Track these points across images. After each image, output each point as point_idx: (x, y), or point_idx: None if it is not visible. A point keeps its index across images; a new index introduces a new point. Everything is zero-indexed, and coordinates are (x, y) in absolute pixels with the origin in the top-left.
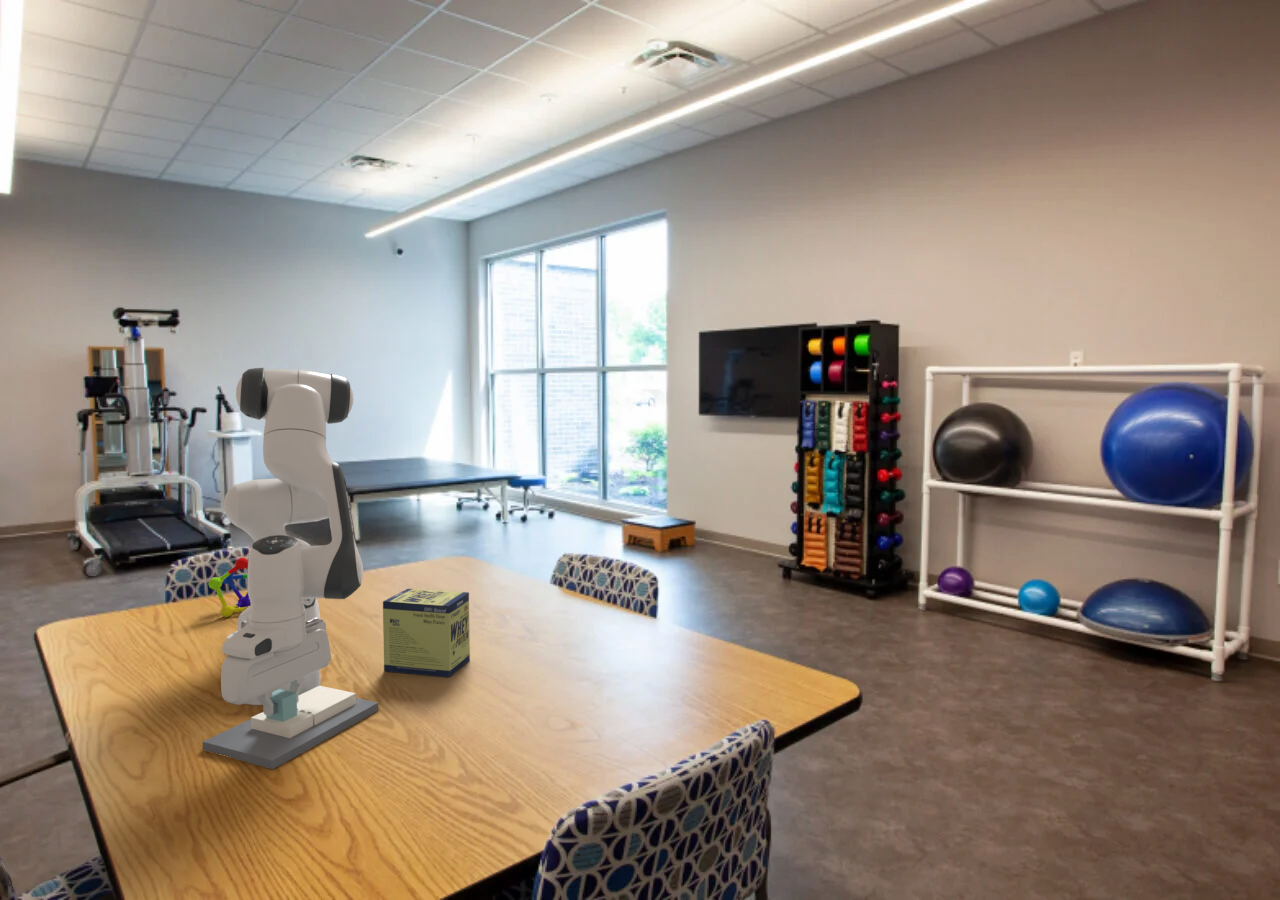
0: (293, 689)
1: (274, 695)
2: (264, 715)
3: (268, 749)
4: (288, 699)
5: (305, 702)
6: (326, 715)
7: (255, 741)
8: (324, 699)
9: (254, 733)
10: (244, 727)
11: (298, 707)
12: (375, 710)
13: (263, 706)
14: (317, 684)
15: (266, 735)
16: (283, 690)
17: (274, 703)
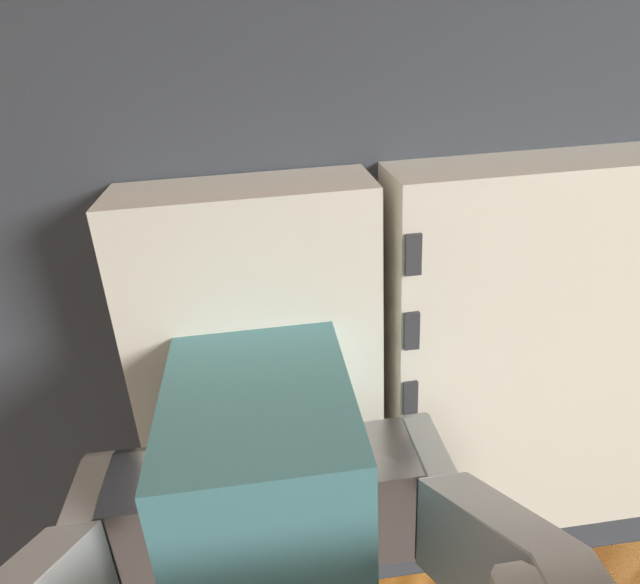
0: (454, 555)
1: (205, 571)
2: (192, 285)
3: (14, 537)
4: None
5: (550, 344)
6: None
7: (15, 391)
8: (637, 416)
9: (81, 276)
10: (88, 100)
11: (449, 381)
12: None
13: (63, 510)
14: None
15: (117, 378)
16: (365, 534)
17: (154, 578)
